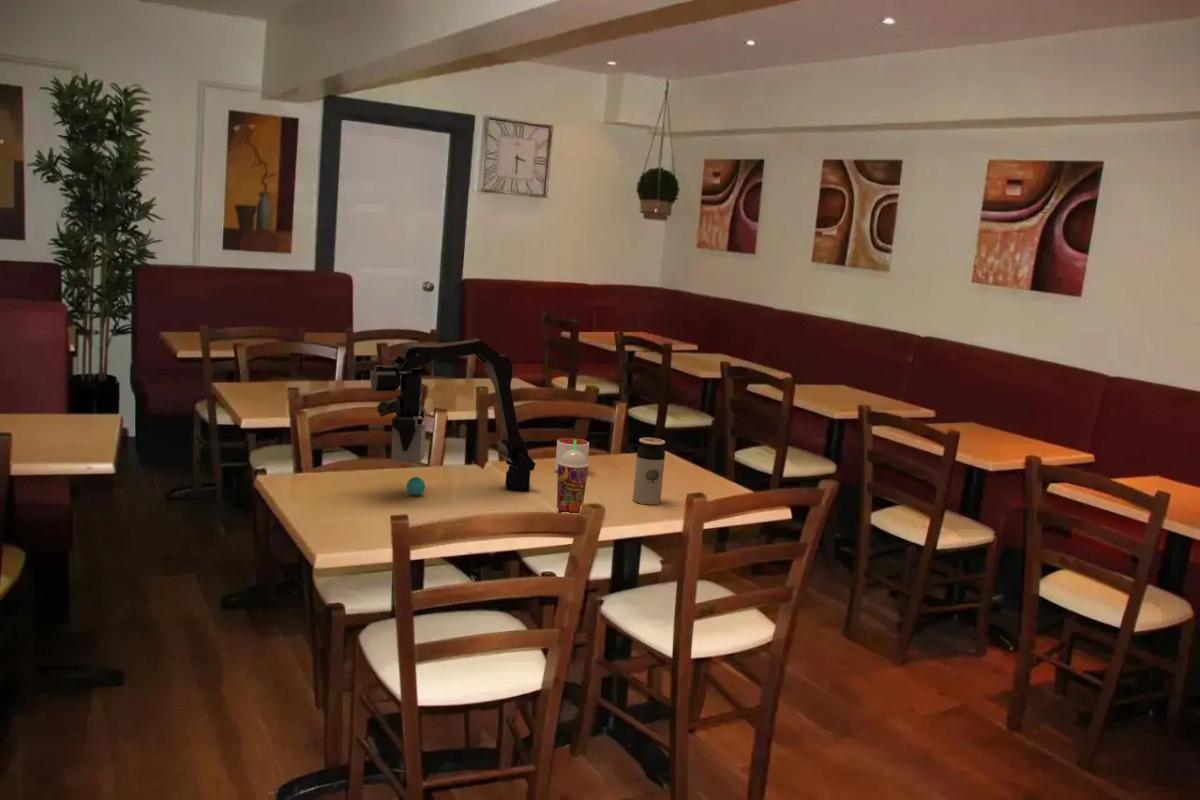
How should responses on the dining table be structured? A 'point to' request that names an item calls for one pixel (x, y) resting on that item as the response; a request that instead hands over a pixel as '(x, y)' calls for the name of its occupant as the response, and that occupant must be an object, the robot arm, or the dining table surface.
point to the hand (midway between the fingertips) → (407, 448)
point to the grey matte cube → (415, 448)
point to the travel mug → (649, 471)
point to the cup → (570, 447)
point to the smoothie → (571, 480)
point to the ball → (415, 486)
